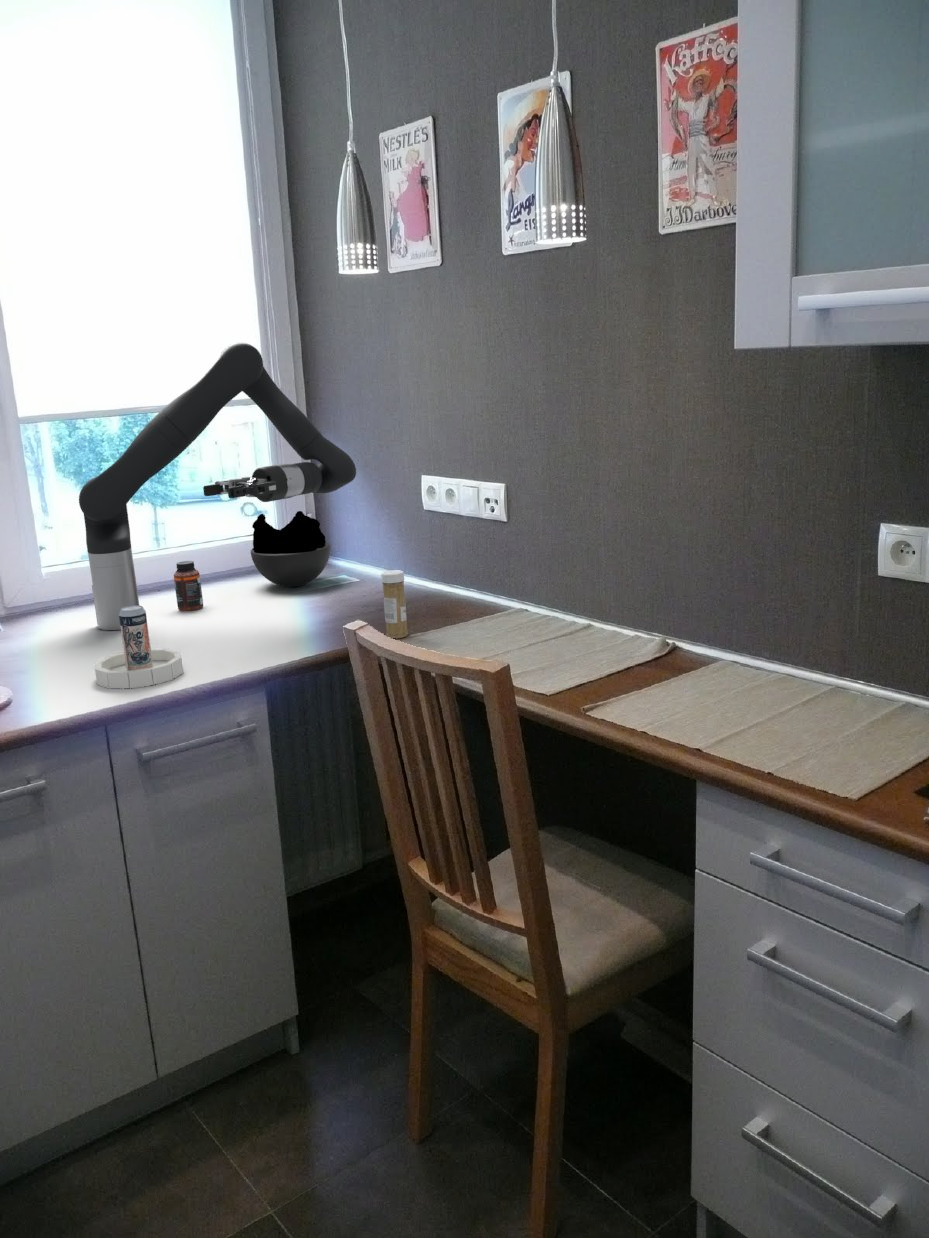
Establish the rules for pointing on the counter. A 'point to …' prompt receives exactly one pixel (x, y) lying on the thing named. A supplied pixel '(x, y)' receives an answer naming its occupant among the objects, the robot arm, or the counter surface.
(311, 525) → the coal bowl
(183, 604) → the supplement bottle
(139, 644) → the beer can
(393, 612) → the sprinkles bottle
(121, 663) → the white segmented ring
